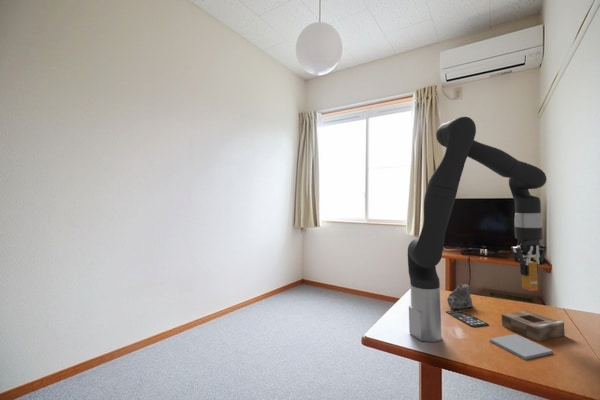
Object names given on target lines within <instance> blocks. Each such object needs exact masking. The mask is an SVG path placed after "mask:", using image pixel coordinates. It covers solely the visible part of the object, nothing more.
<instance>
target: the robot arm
mask: <svg viewBox="0 0 600 400" xmlns="http://www.w3.org/2000/svg"><path fill="white" fill-rule="evenodd" d="M476 126H477V125H476V123H475V121H474V120H473V119H472V118H471V117H469V116H460V117H456V118H454V119H451V120H449V121H446V122H444V123H442V124H441V125H440V126H439V127H438V128H437V130H436V133H435V135H436V140H437V142H438V143H439V145H441V146H442V147H445V153H444V155H443V158H442V160H441V162H440V163H439V165H438V166H437V168H436V169H435V170H434V172H433V173H432V175H431V176H430V178H429V181H428V183H427V186H426V190H425V194H424V199H423V223H422V228H421V231H420V234H419V237H417V238H414V239H413V240H411V241H410V242H409V244H408V247H407V266H408V267H407V268H408V270H407V271H408V276H409V280H410V281H409V283H410V305H409V306H408V323H409V324H408V325H409V326H408V328H409V334H410V335H411V336H412V337H414V338H415V339H417V340H419V341H420V342H431V343H432V342H434V343H436V342H439V341H441V340H442V318H441V316H442V313H441V312H442V311H441V285H440V284H441V283H440V282H441V281H440V278H439V275H438V273H437V267H436V266H437V265H438V264H439V263H440V261H441V260H442V257H443V252H444V243H445V240H446V239H445V238H446V232H447V228H448V225H449V221H450V218H451V216H452V211H453V208H454V205H455V202H456V201H455V200H456V197H457V193H458V190H459V185H460V181H461V178H462V175H463V172H464V171H463V170H464V168H465V164H466V161H467V158H470V159H471V160H473V161H475V162H478V163H479V164H481V165H483V166H484V167H486V168H488V169H489V170H491V171H492V172H494V173H496V174H498V176H501V177H502V178H508V186H509V189H510V191H511V195H512V199H513V200H514V238H515V239H516V240H517V243H516V246H511V247H510V251H511V253H512V257H513V259H514V260H513V261H514V262H515V263H517V264H519V266H520V274H521V276H522V275H524V276H529V265H528V264H529V261H533V262H537V276H538V275H539V265H540V263H543V262H544V260H545V255H546V250H547V245H542V244H541V243H540V241H542V240H543V239H544V238H543V235H544V234H543V218H542V208H541V207H542V204H541V202H542V201H541V199H540V197H538V196H535V195H531V193H530V191H529V190H536V189H539V188H542V187H543V186H545V185H546V183H547V175H546V173H545V172H544V171H543V169H541V168H539V167H537V166H535V165H532V164H530V163H527V162H525V161H520V160H518V159H517V158H516V157H513V156H512V155H510V154H509V153H507V152H506V151H504V150H502V149H500V148H497V147H495V146H490V145H488V144H485V143H482V142H479V141H477V140H475V139H476V138H475V137H476V133H477V127H476Z"/></svg>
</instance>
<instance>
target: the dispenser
mask: <svg viewBox="0 0 600 400" xmlns="http://www.w3.org/2000/svg"><path fill="white" fill-rule="evenodd" d="M501 325H502V326H503V327H505V328H507V329H509V330H512V331H513V332H517V333H519V334H521V335H523V336H526V337H527V338H530V339H532V340H535V341H536V342H541V341H546V340H549V339H555V338H558V337H564V336H566V334H565V321H563V320H559V321H558V320H555V319H552V318H549V317H546V316H543V315H541V314H538V313H535V312H532V311H529V310H521V311H514V312H508V313H503V314H501Z"/></svg>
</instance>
